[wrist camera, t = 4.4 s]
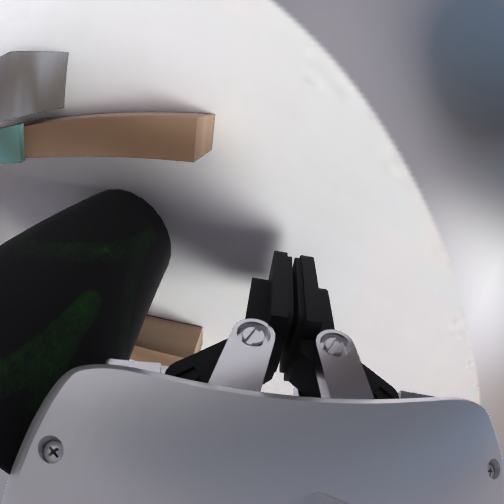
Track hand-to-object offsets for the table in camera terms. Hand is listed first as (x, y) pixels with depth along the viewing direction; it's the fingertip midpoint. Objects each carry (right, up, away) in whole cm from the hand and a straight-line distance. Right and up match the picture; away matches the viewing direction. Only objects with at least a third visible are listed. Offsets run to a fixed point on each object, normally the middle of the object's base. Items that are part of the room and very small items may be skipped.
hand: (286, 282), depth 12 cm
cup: (-8, +2, +2) cm, 9 cm away
